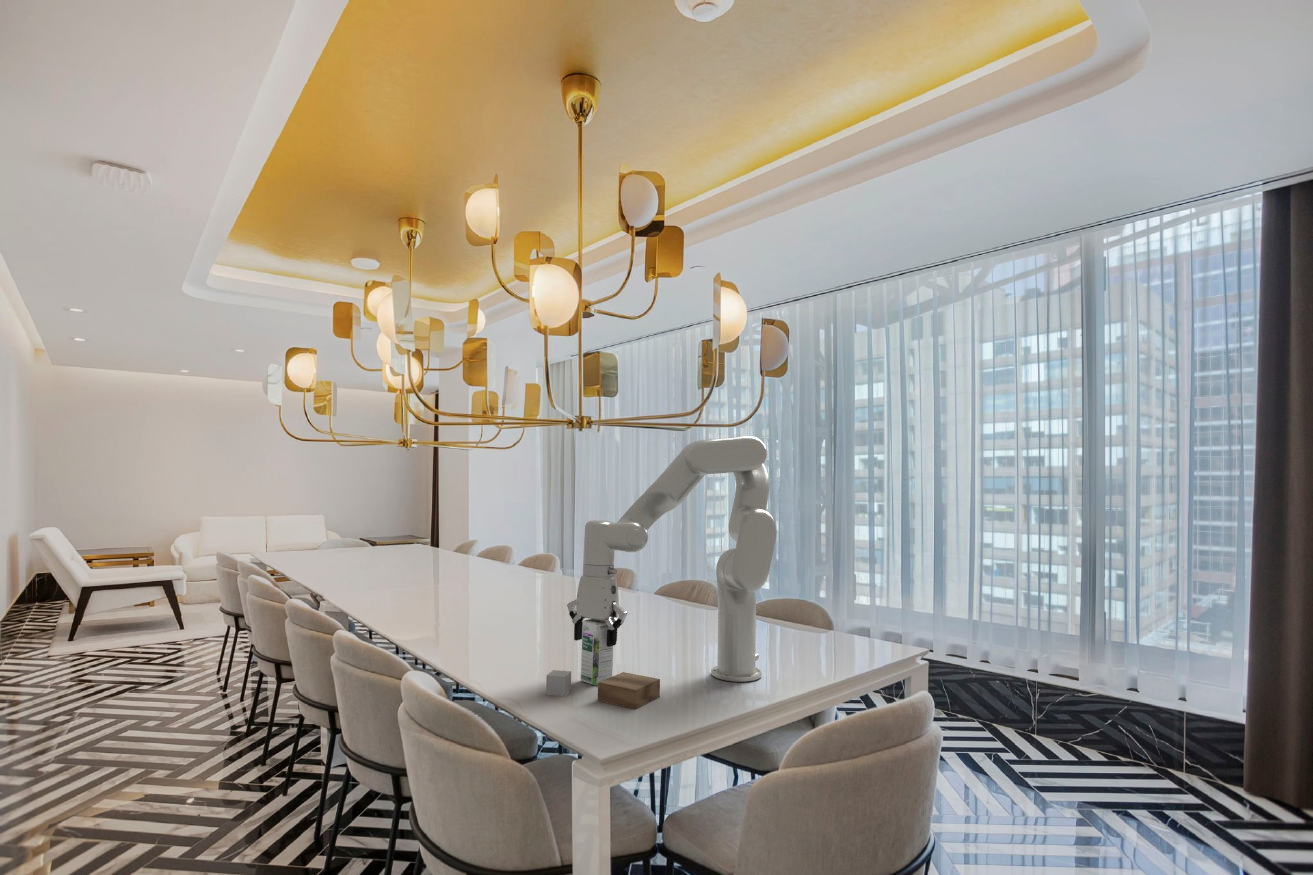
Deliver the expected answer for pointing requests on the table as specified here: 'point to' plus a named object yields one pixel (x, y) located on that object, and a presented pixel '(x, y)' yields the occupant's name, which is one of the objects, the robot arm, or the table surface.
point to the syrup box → (595, 652)
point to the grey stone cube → (558, 683)
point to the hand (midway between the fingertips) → (594, 642)
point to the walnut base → (628, 690)
